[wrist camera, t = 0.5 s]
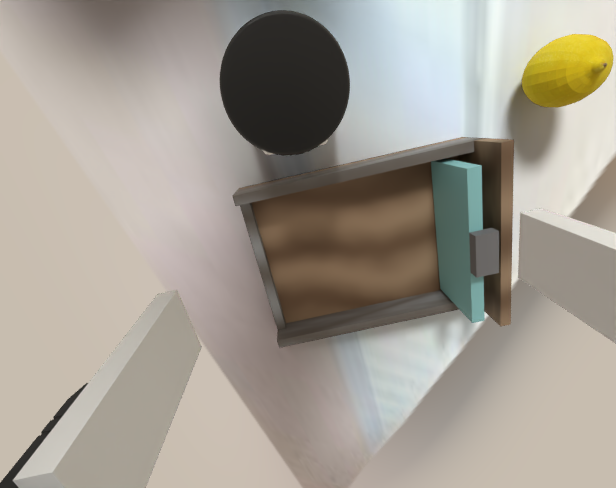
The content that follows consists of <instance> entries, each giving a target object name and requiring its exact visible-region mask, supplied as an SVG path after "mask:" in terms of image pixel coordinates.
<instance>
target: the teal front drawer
mask: <svg viewBox="0 0 616 488" xmlns="http://www.w3.org/2000/svg"><path fill="white" fill-rule="evenodd" d="M445 158H446V159H451V160H456V161H461V162H466V163H471V164H477V165H482V213H483V229H488V228H494V229H496V230H498V231H499V273H496V274H492V275H487V276H484V311H485V312H486V313H487V314H488V315H489V316H490V317H491V318H492V319H493V320H495V322H497V323H498V324H499V325H500V326H505V325H509V324H510V322H511V269H512V215H513V160H514V140H509V139H489V138H469V137H461V138H456V139H452V140H448V141H443V142H439V143H435V144H430V145H426V146H422V147H417V148H413V149H409V150H404V151H400V152H396V153H391V154H387V155H382V156H378V157H374V158H369V159H365V160H361V161H356V162H352V163H348V164H343V165H339V166H335V167H330V168H326V169H321V170H317V171H313V172H308V173H304V174H300V175H295V176H291V177H287V178H282V179H278V180H274V181H269V182H265V183H261V184H256V185H252V186H247V187H243V188H239V189H238V190H237V191H236V193H235V194H234V195H233V199H234V203H235V206H239V205H240V207H241V210H242V213H243V217H244V220H245V223H246V227H247V230H248V233H249V237H250V240H251V243H252V246H253V250H254V253H255V256H256V260H257V263H258V266H259V269H260V273H261V276H262V279H263V283H264V286H265V289H266V293H267V296H268V299H269V302H270V306H271V309H272V312H273V316H274V319H275V322H276V325H277V329H278V336H277V342H278V345H279V348H280V347H285V346H290V345H294V344H299V343H304V342H308V341H313V340H318V339H323V338H327V337H332V336H337V335H341V334H346V333H351V332H355V331H360V330H365V329H369V328H374V327H379V326H383V325H388V324H393V323H397V322H402V321H407V320H411V319H416V318H421V317H425V316H430V315H435V314H439V313H444V312H449V311H453V310H458V309H459V308H458V307H457V306H456V305H455V304H454V303H453V302H452V301H451V300H450V299H449V297H448V296H447V295H446V294H445V293H444V292H443V291H442V290H441V289H440V278H439V265H438V252H437V238H436V225H435V211H434V198H433V184H432V171H431V162H432V161H436V160H440V159H445Z"/></svg>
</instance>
